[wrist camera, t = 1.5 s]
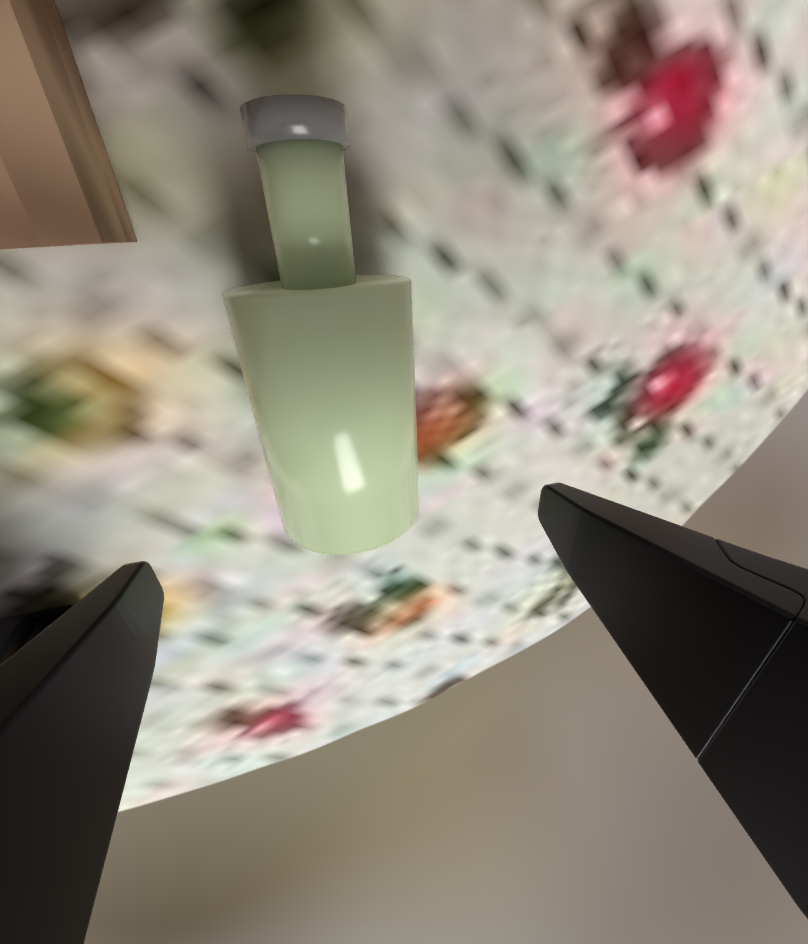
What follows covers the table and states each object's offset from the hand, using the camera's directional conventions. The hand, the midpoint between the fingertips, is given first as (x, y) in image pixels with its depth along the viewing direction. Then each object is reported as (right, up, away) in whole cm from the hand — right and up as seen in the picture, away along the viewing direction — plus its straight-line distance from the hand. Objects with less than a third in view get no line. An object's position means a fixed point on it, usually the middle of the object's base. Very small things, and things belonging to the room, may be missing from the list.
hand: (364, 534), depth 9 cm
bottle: (-2, +7, +8) cm, 11 cm away
